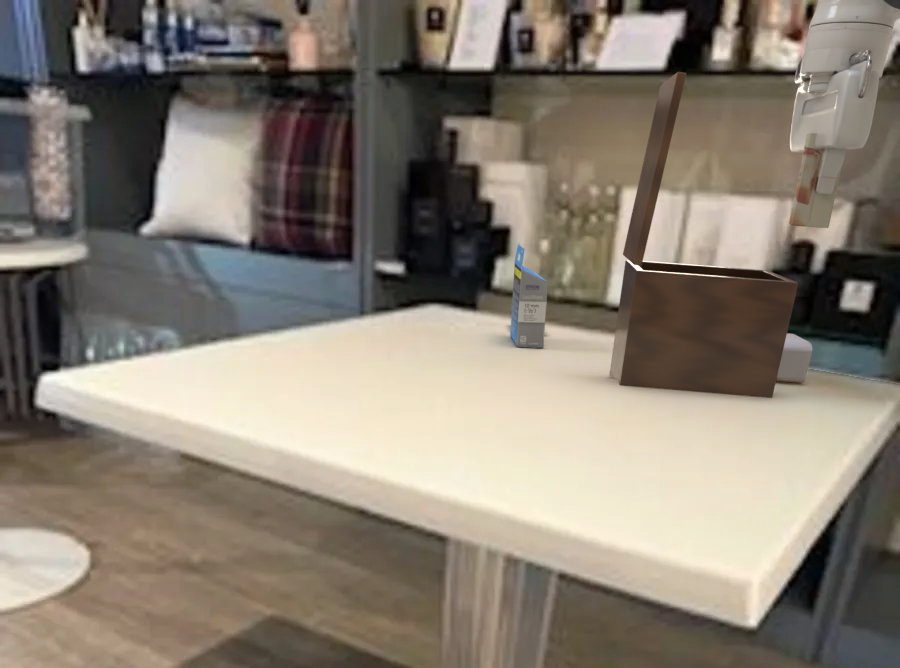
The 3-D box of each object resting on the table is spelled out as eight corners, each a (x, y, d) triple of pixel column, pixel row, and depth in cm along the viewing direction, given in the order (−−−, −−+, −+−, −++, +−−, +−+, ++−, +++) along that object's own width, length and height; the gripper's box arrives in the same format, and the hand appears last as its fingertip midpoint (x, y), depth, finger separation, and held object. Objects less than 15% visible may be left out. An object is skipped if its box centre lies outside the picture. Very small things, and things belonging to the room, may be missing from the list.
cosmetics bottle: (787, 224, 109) (806, 133, 105) (824, 227, 108) (845, 135, 104) (790, 226, 105) (809, 131, 101) (828, 228, 104) (850, 132, 100)
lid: (668, 86, 89) (660, 85, 89) (686, 73, 78) (677, 71, 78) (629, 255, 97) (622, 254, 97) (641, 266, 85) (633, 264, 85)
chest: (743, 387, 102) (768, 270, 96) (769, 413, 90) (798, 282, 85) (609, 376, 102) (625, 259, 97) (617, 400, 91) (636, 270, 86)
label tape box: (544, 348, 116) (554, 249, 111) (513, 347, 116) (522, 247, 110) (535, 337, 124) (545, 244, 118) (507, 335, 124) (515, 242, 118)
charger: (666, 361, 113) (781, 369, 113) (680, 376, 105) (804, 385, 105) (672, 323, 111) (790, 331, 111) (687, 335, 103) (814, 344, 103)
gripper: (905, 48, 90) (869, 196, 96) (845, 71, 108) (818, 194, 114) (842, 45, 90) (811, 193, 96) (793, 68, 108) (769, 191, 114)
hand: (814, 193), depth 105 cm, fingers closed on cosmetics bottle, 5 cm apart
